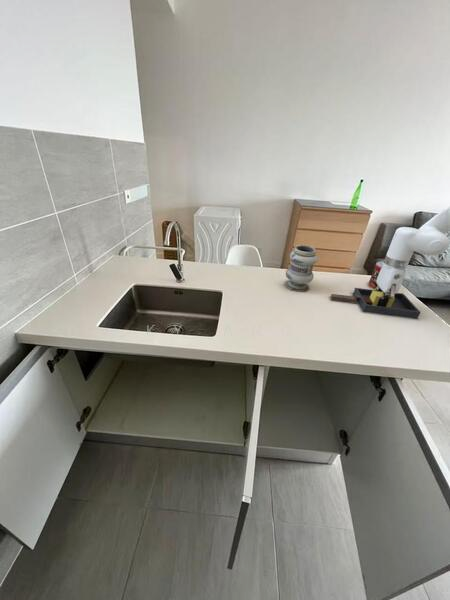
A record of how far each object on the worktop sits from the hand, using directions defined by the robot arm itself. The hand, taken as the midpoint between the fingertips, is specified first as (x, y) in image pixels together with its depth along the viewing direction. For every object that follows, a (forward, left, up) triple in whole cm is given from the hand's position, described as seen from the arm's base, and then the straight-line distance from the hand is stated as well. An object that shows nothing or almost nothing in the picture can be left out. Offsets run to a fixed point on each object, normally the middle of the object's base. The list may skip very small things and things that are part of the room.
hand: (378, 303), depth 99 cm
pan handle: (+14, 0, -1) cm, 14 cm away
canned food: (-6, -18, -1) cm, 19 cm away
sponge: (0, 0, 0) cm, 0 cm away
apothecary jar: (+32, -8, -1) cm, 33 cm away
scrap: (+5, 0, 0) cm, 5 cm away
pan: (-2, 0, -1) cm, 2 cm away
